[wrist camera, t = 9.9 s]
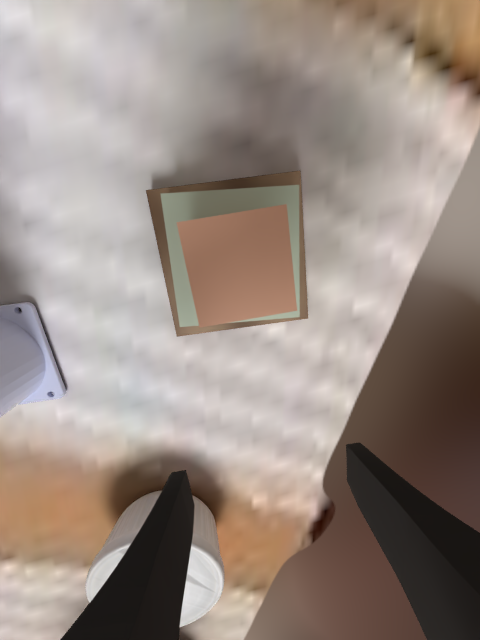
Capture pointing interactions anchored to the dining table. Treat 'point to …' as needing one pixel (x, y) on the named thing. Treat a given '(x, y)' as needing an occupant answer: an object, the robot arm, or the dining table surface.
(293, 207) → the tower top
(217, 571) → the ramekin
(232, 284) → the terracotta block
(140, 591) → the robot arm
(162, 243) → the tower base
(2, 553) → the dining table surface
